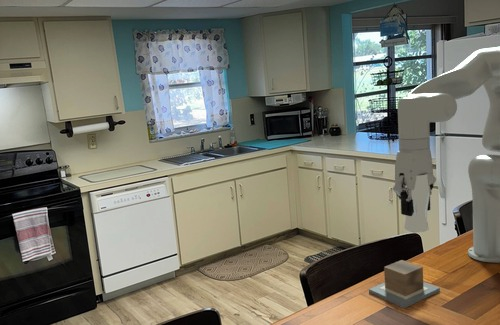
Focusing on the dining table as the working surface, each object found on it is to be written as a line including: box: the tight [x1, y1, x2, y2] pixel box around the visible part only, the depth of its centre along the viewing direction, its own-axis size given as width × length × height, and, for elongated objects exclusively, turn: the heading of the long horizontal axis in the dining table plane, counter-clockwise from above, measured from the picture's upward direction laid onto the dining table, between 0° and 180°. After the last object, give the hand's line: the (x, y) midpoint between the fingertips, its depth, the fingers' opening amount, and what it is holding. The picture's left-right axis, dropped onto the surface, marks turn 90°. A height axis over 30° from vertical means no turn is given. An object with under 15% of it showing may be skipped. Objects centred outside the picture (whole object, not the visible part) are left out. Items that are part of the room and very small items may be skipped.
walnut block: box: [383, 259, 424, 296], centre depth 125 cm, size 7×7×6 cm
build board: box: [368, 281, 441, 309], centre depth 125 cm, size 14×12×1 cm
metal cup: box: [403, 173, 431, 233], centre depth 121 cm, size 7×7×15 cm
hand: (415, 211), depth 122 cm, fingers closed on metal cup, 6 cm apart
